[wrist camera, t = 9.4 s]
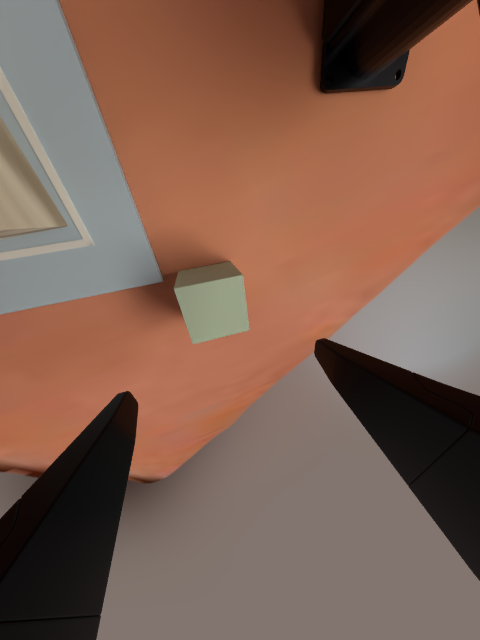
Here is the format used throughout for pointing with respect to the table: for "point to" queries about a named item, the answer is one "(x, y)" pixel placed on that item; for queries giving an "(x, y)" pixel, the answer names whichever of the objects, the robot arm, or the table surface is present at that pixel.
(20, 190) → the birch brick
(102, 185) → the board
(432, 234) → the table surface
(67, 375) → the table surface
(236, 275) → the sage cube
